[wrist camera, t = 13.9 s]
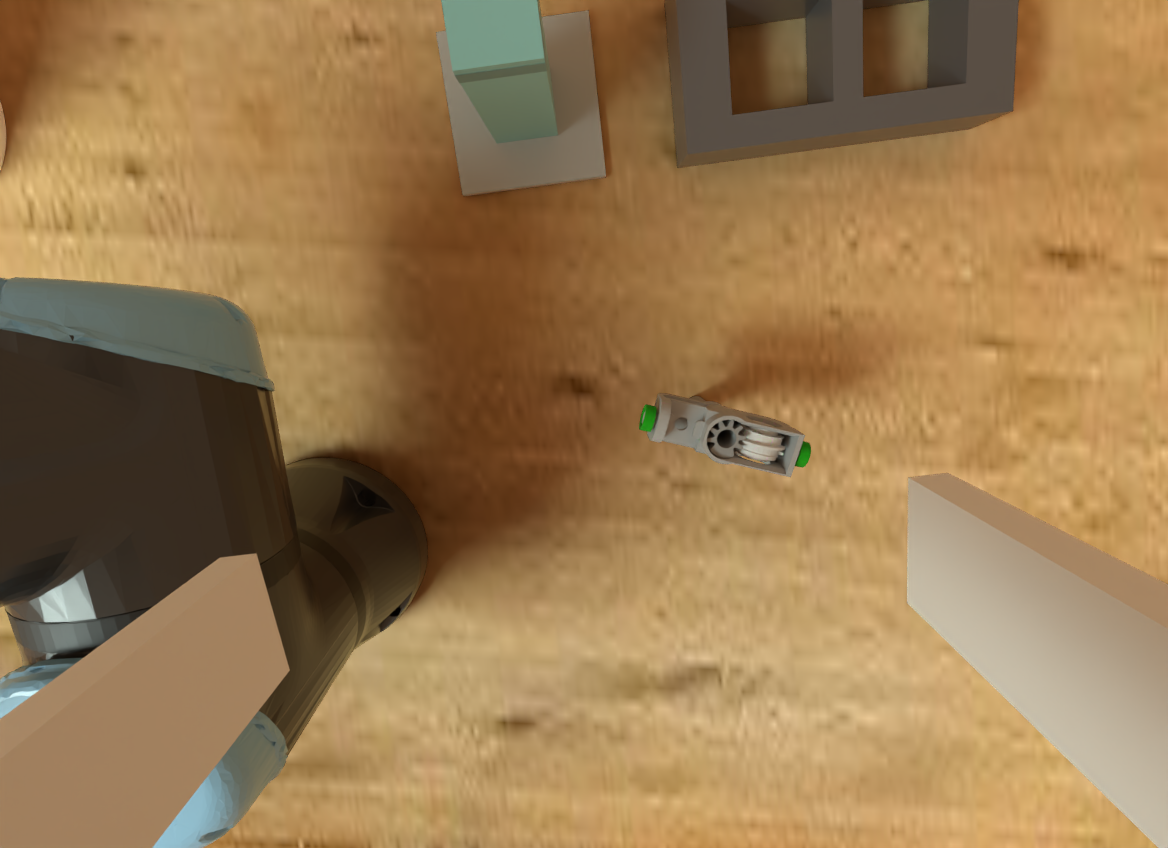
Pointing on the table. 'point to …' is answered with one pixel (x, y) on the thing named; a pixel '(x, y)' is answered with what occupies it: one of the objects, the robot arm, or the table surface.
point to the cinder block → (835, 77)
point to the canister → (2, 136)
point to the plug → (503, 65)
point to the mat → (536, 158)
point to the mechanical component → (725, 433)
